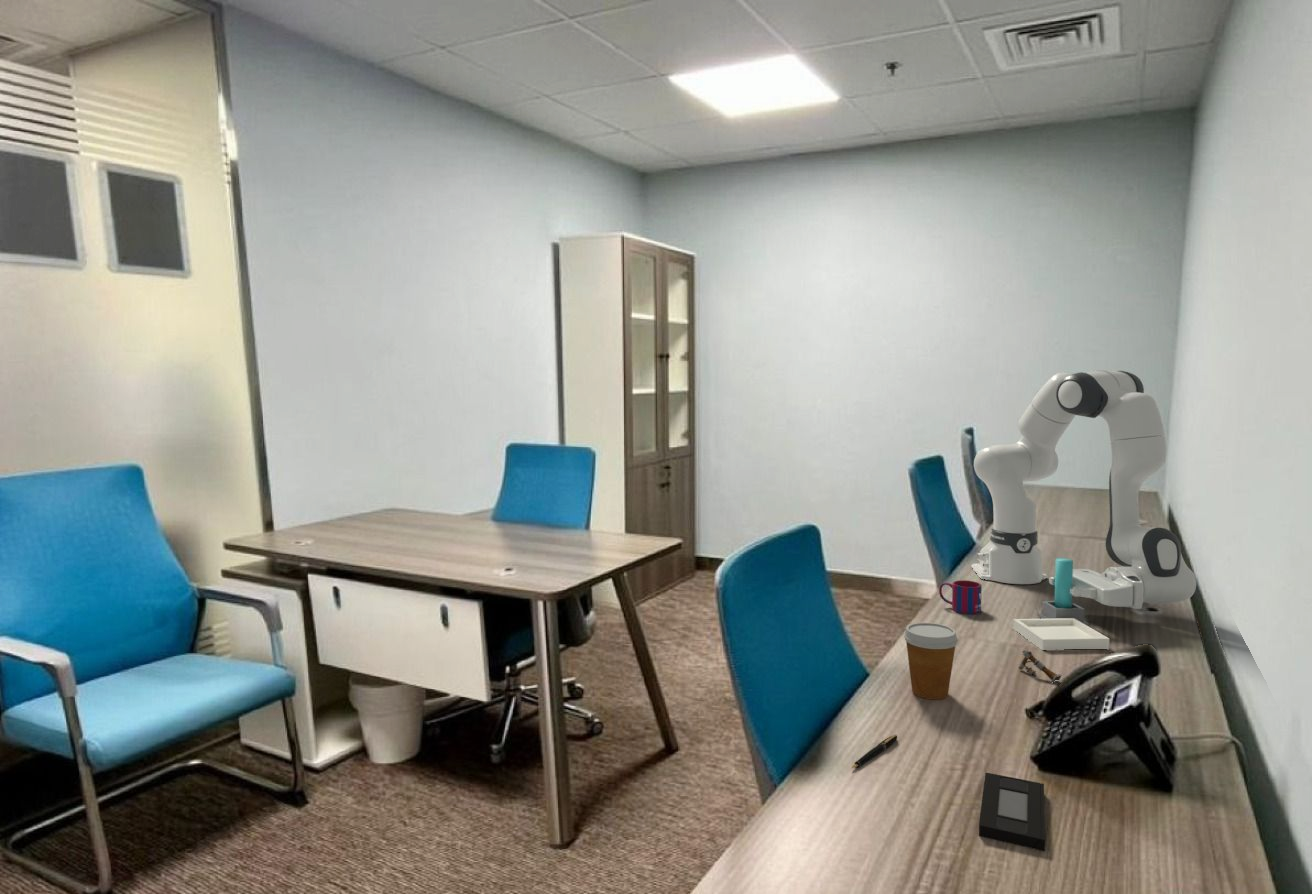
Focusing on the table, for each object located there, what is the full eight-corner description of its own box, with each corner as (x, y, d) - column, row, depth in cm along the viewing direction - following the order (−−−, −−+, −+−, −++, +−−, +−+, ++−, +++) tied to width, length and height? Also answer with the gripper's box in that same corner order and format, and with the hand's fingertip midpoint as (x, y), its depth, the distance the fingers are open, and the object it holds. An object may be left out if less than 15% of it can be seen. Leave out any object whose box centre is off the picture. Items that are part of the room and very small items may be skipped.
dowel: (1051, 616, 182) (1052, 558, 181) (1066, 615, 182) (1067, 558, 181) (1058, 620, 178) (1060, 562, 177) (1074, 620, 178) (1076, 561, 177)
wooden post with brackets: (1018, 663, 152) (1027, 646, 150) (1052, 692, 146) (1062, 674, 144) (1012, 665, 151) (1021, 648, 149) (1046, 694, 145) (1056, 676, 143)
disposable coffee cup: (892, 687, 144) (892, 625, 143) (933, 679, 147) (933, 619, 146) (926, 707, 135) (927, 641, 134) (969, 698, 138) (970, 634, 137)
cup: (975, 616, 186) (975, 588, 185) (935, 608, 192) (935, 582, 192) (985, 609, 191) (985, 583, 190) (945, 602, 197) (946, 576, 197)
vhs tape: (978, 840, 97) (978, 825, 97) (985, 785, 110) (985, 772, 110) (1044, 855, 94) (1045, 839, 93) (1043, 797, 106) (1043, 783, 106)
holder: (1037, 616, 184) (1037, 600, 184) (1070, 616, 184) (1071, 599, 184) (1054, 627, 176) (1054, 610, 176) (1088, 626, 176) (1089, 609, 176)
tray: (1012, 629, 175) (1012, 619, 175) (1073, 628, 175) (1074, 618, 175) (1042, 650, 162) (1042, 639, 161) (1109, 649, 161) (1109, 638, 161)
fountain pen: (854, 774, 113) (854, 764, 113) (847, 771, 114) (847, 762, 114) (900, 740, 123) (900, 732, 123) (893, 738, 124) (893, 729, 124)
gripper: (1095, 561, 189) (1039, 562, 190) (1147, 583, 169) (1084, 584, 169) (1094, 586, 190) (1039, 587, 190) (1146, 611, 170) (1083, 612, 170)
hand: (1060, 586), depth 180 cm, fingers open, 8 cm apart
